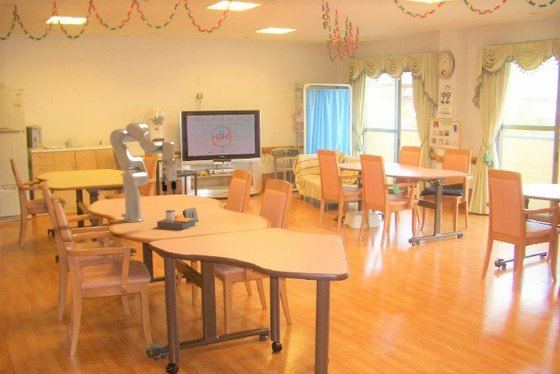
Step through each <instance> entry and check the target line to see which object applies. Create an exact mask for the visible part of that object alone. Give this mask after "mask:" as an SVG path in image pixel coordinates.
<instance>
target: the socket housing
mask: <svg viewBox="0 0 560 374" xmlns="http://www.w3.org/2000/svg"><path fill="white" fill-rule="evenodd" d="M195 226H196V222H195V219H193V220H191V221H188V222H174V221H166V218H164V219H161V220H157V221H156V227H157V229H164V228H166V229H167V230H176V229H179V230H178V231H184V230H187V229H190V228H192V227H195Z"/></svg>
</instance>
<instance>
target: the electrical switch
mask: <svg viewBox="0 0 560 374" xmlns="http://www.w3.org/2000/svg"><path fill="white" fill-rule="evenodd" d="M182 217H183V218H193V219H195V223H197V222H199V217H198V212H197V208H196V207H190V208H184V210H182Z"/></svg>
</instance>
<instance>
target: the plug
mask: <svg viewBox="0 0 560 374" xmlns="http://www.w3.org/2000/svg"><path fill="white" fill-rule="evenodd" d="M175 216H176V210H175V209H168V210H165V219H166V221H174V220H175Z"/></svg>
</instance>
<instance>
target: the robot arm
mask: <svg viewBox="0 0 560 374" xmlns="http://www.w3.org/2000/svg"><path fill="white" fill-rule="evenodd" d="M149 131H150V129H149V126H148V125H147V124H146V123H144V122H131V123H128V124H127V125H126V127H125V128H117V129H115V130H112V131H111V133H110V136H109V138H110V139H109V141H110V144H111V148H112V149H113V151H114V153H115V156H116V158H117V161H118V164H119V166H120V169H121V170H122V171H124V172H125V173H124V174H123V176H122V180H121V181H122V184H123V189H124V190H123V191H124V207H125V212H124V213H121V217H122V218H123V222H126V223H137V222H138V223H139V222H143V221H144V217H142V213H141V212H142V211H141V208H142V207H141V193H140V190H139V188H138V187H140V186H145V185H148V183H149V180H150V178H149V177H150V176H149V173H148V170H147V168H146V167H147V166H146V164H145V161H144V159H143V158H142V157H141V156H139V155H132V154H131V153H130V150H129V148H128V146H127V145H126V144H124V143H125V142H126V143H128V142H129V143H130V142H136V141H137V142H138V143H139V146H140V148H141V150H143V151H144V152H146V153H148V154H150V155H156V154H161V162H162V163H161V166H162V167H161V176H160V177H159V181H160V184H161V191H162V192H168V182H171V186H170V187H171V188H170V189H171V190H177V181H178V177H179V176H178V175H179V174H177V173H178V172H177V166H176V157H175V156H176V152H175V150H176V149H175V142H173V141H166V140H157V141H152V140H150V139H151V133H150V132H149Z"/></svg>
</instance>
